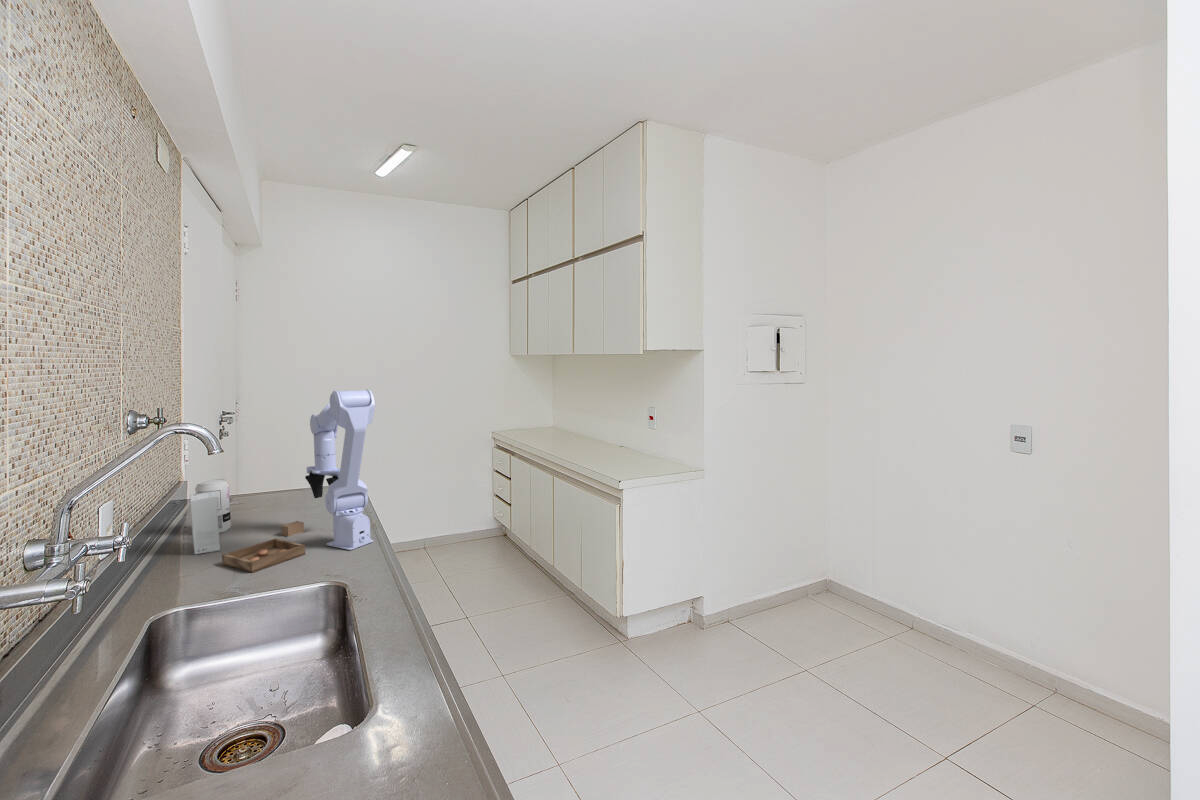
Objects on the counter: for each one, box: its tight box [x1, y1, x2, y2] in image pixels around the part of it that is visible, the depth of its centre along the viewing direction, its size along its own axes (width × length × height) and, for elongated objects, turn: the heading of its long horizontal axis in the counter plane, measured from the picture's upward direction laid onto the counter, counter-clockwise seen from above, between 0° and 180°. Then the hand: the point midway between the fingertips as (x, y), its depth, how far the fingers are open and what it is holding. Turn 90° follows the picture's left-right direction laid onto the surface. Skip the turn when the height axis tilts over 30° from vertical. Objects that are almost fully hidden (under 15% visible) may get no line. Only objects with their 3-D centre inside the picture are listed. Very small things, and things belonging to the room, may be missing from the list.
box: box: [221, 538, 306, 574], centre depth 143 cm, size 12×14×2 cm
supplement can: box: [194, 478, 232, 534], centre depth 165 cm, size 8×8×15 cm
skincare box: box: [189, 492, 221, 555], centre depth 150 cm, size 8×6×15 cm
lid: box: [280, 520, 305, 537], centre depth 164 cm, size 13×15×4 cm
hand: (326, 498), depth 167 cm, fingers open, 7 cm apart
